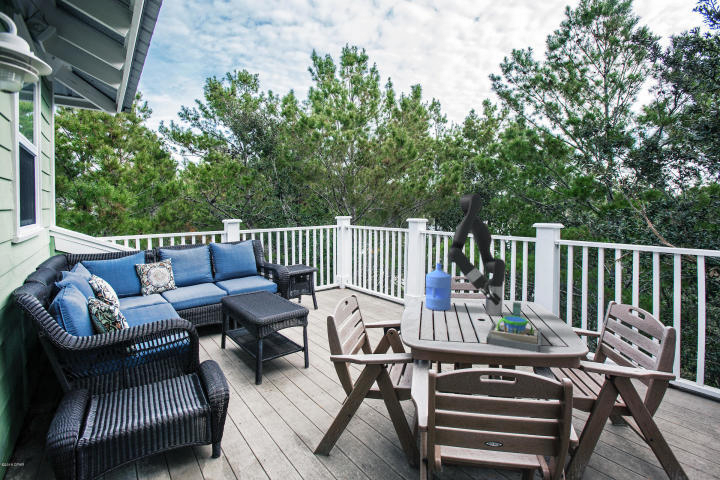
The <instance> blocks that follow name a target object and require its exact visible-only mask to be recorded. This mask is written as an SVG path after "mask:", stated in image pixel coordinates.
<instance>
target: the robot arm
mask: <svg viewBox="0 0 720 480" xmlns="http://www.w3.org/2000/svg"><path fill="white" fill-rule="evenodd" d="M458 202H459V203H458V204H459V206H460V210H461V211H462V213H463V215H464V217H463V219H462V220H461V222H460V223H459V224H458V225H457V227H456V229H455V231H454V235H453V238H452V242H451V245H450V247H449V250H448V252H447V260H448V261H449V263H450V262H451V263H455V264H456V266H457V268H458V269H459V271H460V272H461V274H463V275H464V277H465V278H466V279H467V280H468V282H469V283H470V284H472V286H473V287H474V288H475V289H476V290H480V293H482V294H483V295H484V297H485V310H484V311H485V315H488V316H492V317H493V316H494V317H500V316H502V315H503V295H504V293H503V291H504V289H503V287H504V282H505V275H506V262H505V260H504V259H503V258H502V259H501V258H496V257H493V255H492V253H491V245H492V240H493V239H492V234H491V232H490V229H489V227H488V226H487V224H486V223H485V222H484V221H483V220H482V219H481V218H479V216H478V214H479V212H480V210H481V208H482V204H483V198H482V196H481V195H480V194H478V193H469V194H462V195H461V196H460V197H459V201H458ZM470 232H471V233H472V236H473V238H474V239H473V240H474V242H475V244H476V246H477V250H478V251H479V254H480V259H481V262H482V265H483V269H484V271H485V272H487V273H489V274H492V278H487V277H486V276H485V275H484V274H483V273H482V272H481V271H480V270H479V269H478V268H476V266H475V265H474V264H473V263H472V262H471V261H470V260H469V258H468V256H466V254H465V253H464V251H463V250H464V247H465V245H466V243H467V240H468V236H469V234H470Z"/></svg>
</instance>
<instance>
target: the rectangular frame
mask: <svg viewBox="0 0 720 480" xmlns="http://www.w3.org/2000/svg"><path fill="white" fill-rule="evenodd" d="M495 325H496V322H495V321H493V322H492V325H491V327H490V330H489V331H488V334H487V336H486V344H487V345H491V346H497V347H503V348H509V349H510V348H511V349H517V350H521V351H522V350H523V351H528V350H529V352H534V351H536V353H541V331H542V330H541V329H542V328H540V327H538V329H537V330H538V333H537V344H531V343H524V342H518V341H511V340H504V339H498V338H491V337H490V334H491V330H492V331H493V330H494V328H495Z"/></svg>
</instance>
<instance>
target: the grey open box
mask: <svg viewBox="0 0 720 480" xmlns="http://www.w3.org/2000/svg"><path fill="white" fill-rule="evenodd" d="M521 309H522V303H521V302H517V301H513V303H512V316H517V317H522V316H521V314H522V313H521V312H522V311H521ZM497 324H498V323H497ZM497 324H496V323H495V328H494V330H493V331H492V330H491V334H490V337H491V338H498V339H504V340H511V341H518V342H524V343H531V344H538V329H534V328H533V332H532V334H530V330H531V328H525V332H524V335H520V334H513V333H506V332H505V327H504V325H502V324H499V331H498V329H497ZM500 330H501V331H500ZM503 331H504V332H503ZM526 334H530V335H526ZM532 335H533V336H532Z"/></svg>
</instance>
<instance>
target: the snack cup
mask: <svg viewBox="0 0 720 480" xmlns="http://www.w3.org/2000/svg"><path fill="white" fill-rule="evenodd" d="M501 322H503V324H504V327H505V330H504V332H506V333H513V334H520V335H525V333H524V332H525V328H526V327H527V325H528V324H529V325H530V329H531V330H530V335H533V334H532V332H533V329H534V327H533V324H532V323H531V322H530V321H528V320H527V319H526V318H525V317H522V316H521V317H517V316H513V315H505V316H503V318H500V319H499V321H497V329H498V331H499V332H500V330H499V325H501V324H500V323H501ZM526 329H527V328H526Z"/></svg>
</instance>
